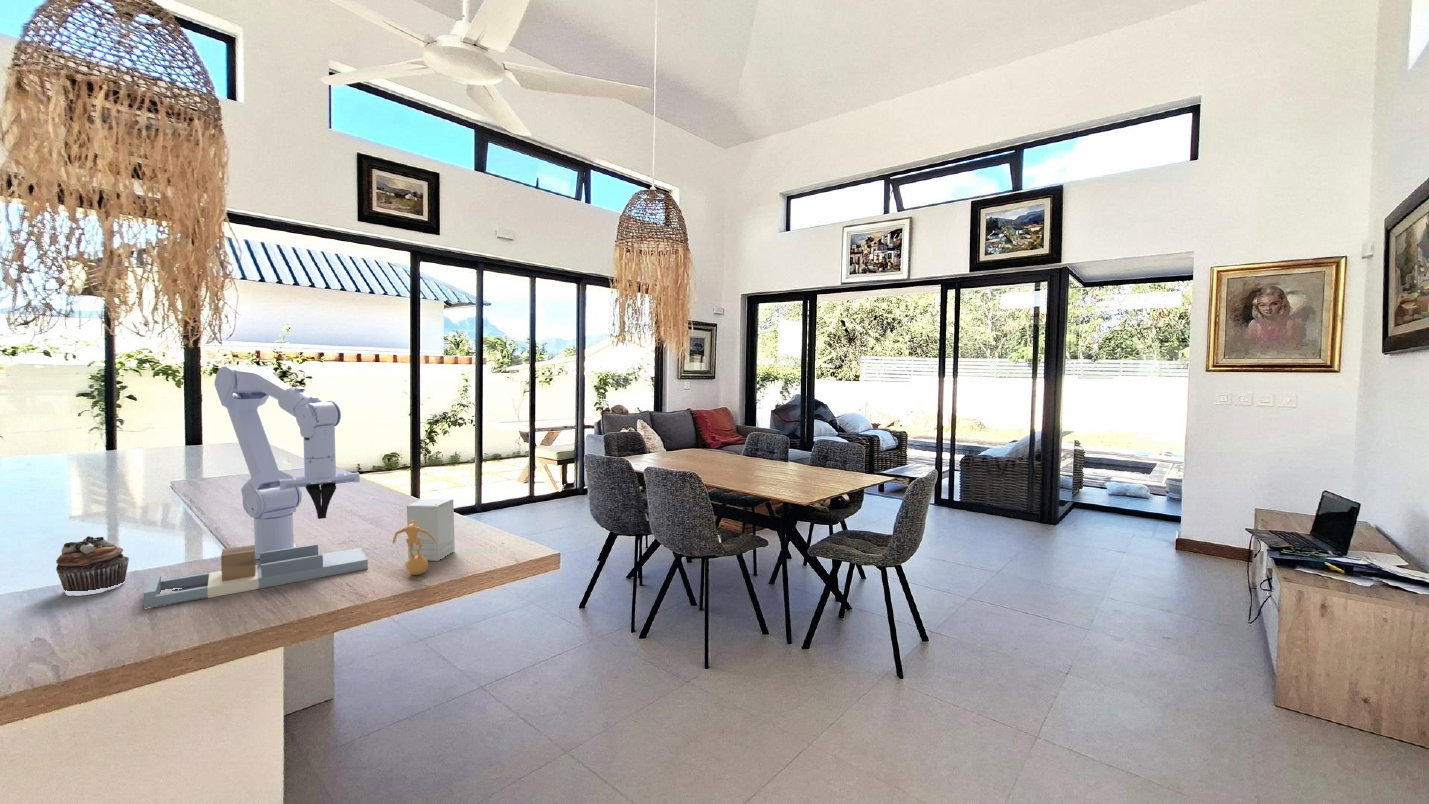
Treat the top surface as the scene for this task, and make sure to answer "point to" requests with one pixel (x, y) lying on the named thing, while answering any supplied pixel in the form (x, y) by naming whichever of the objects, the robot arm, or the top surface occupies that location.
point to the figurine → (418, 562)
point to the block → (238, 562)
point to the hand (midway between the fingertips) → (321, 517)
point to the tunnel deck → (257, 575)
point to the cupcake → (91, 565)
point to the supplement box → (433, 527)
